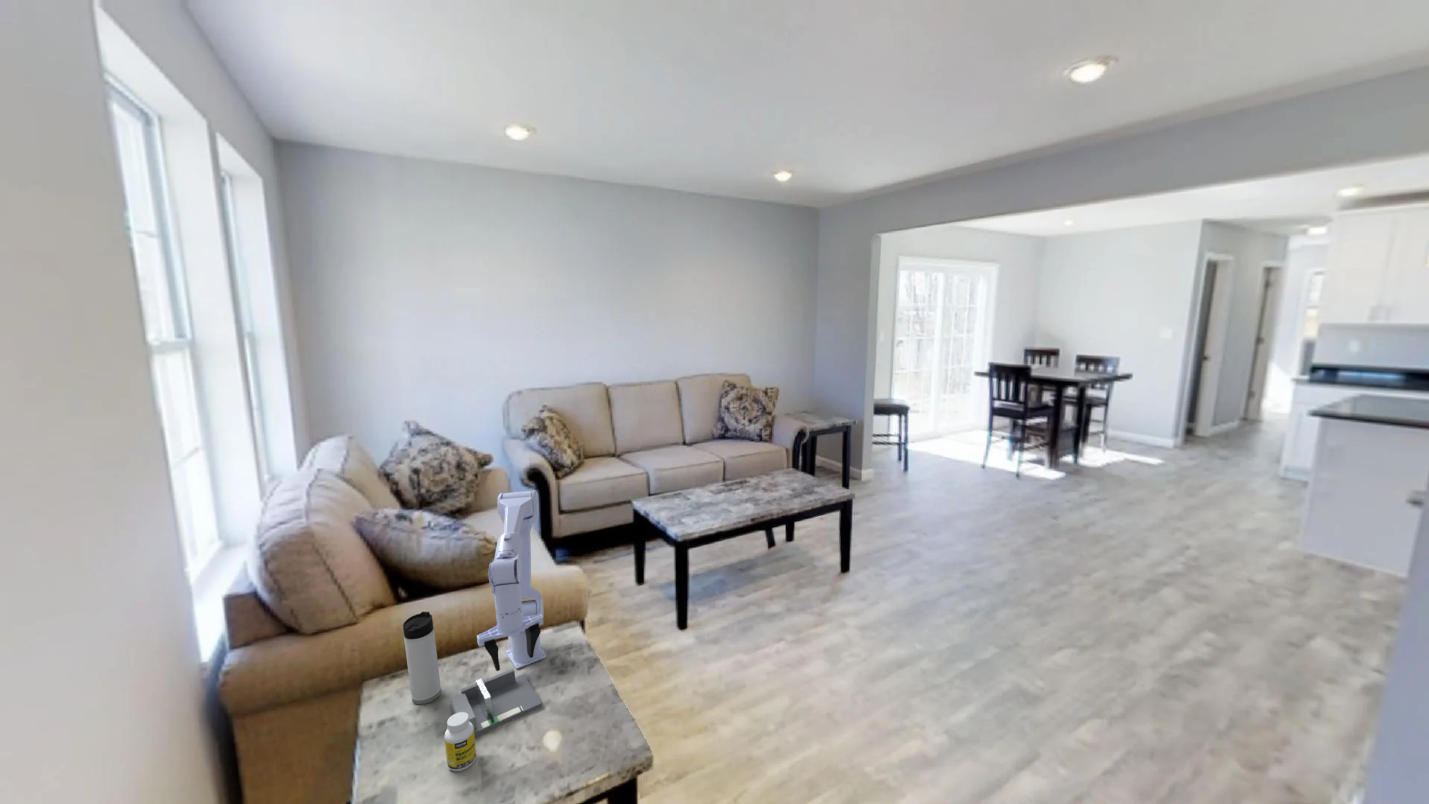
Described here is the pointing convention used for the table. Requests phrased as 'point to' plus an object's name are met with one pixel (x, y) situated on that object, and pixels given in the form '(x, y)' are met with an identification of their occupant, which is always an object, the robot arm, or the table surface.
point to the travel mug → (422, 658)
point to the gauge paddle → (484, 699)
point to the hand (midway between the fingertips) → (514, 662)
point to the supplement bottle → (460, 742)
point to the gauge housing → (497, 701)
